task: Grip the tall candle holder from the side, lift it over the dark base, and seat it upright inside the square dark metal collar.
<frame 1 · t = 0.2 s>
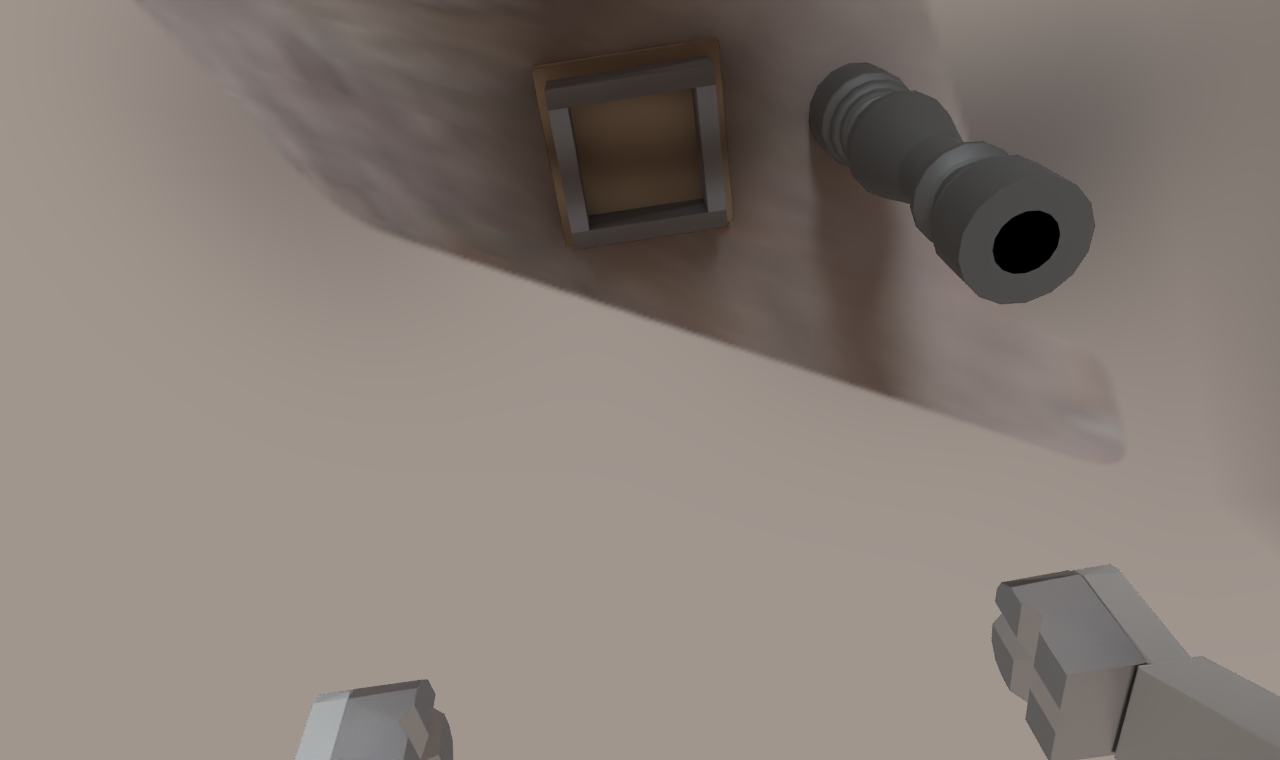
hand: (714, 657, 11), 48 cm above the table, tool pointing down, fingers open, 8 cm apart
candle holder: (852, 109, 55), on the table
socket base: (636, 144, 55), on the table
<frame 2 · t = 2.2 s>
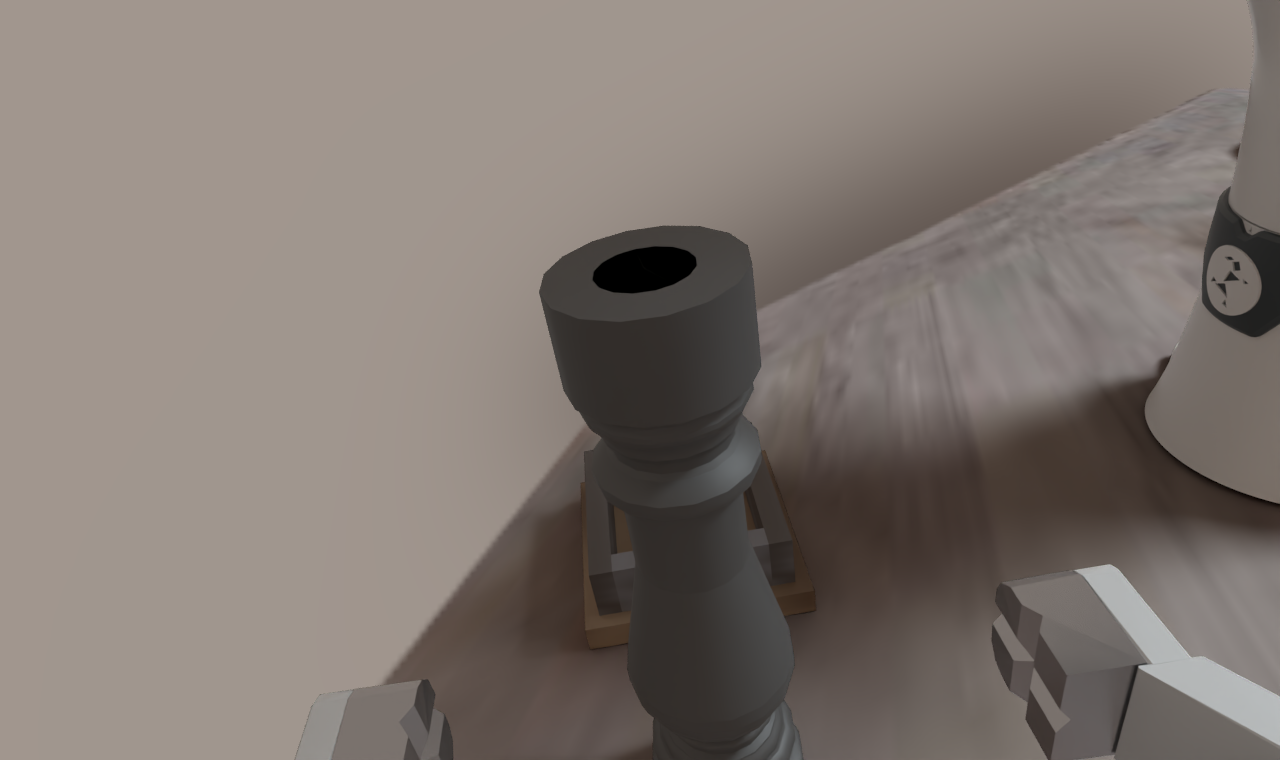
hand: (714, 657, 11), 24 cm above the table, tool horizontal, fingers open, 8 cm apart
socket base: (687, 549, 47), on the table
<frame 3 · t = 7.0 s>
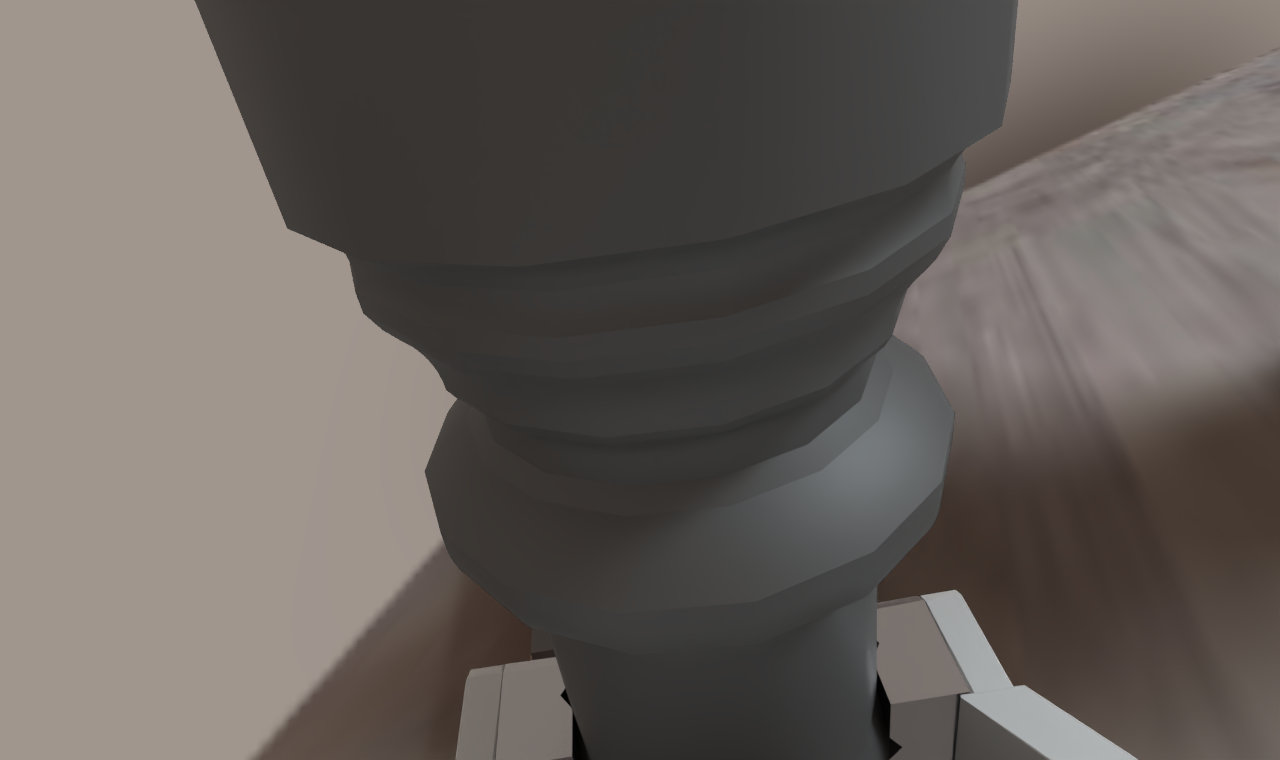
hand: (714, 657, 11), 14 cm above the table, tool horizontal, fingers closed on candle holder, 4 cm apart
socket base: (695, 599, 31), on the table
when the fingers open (16 cm above the table, at t = 12.5 s): candle holder stays where it is, resting on socket base.
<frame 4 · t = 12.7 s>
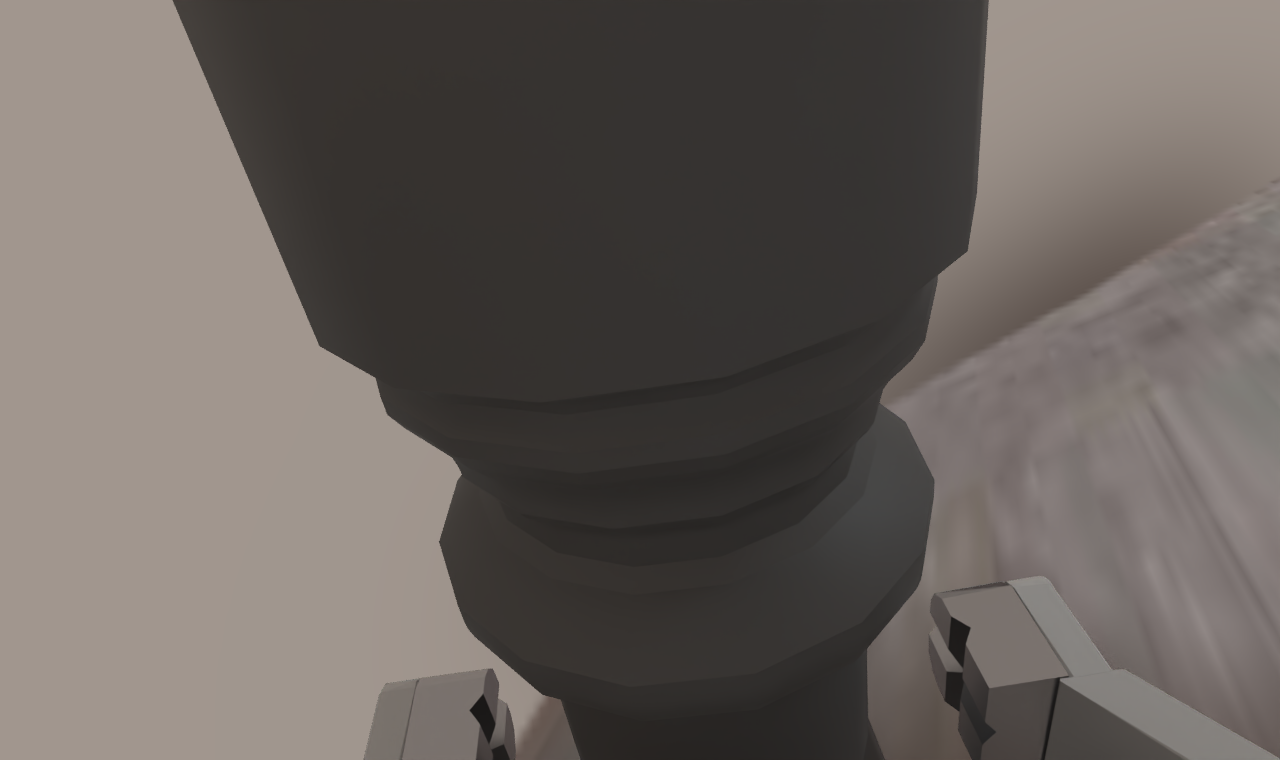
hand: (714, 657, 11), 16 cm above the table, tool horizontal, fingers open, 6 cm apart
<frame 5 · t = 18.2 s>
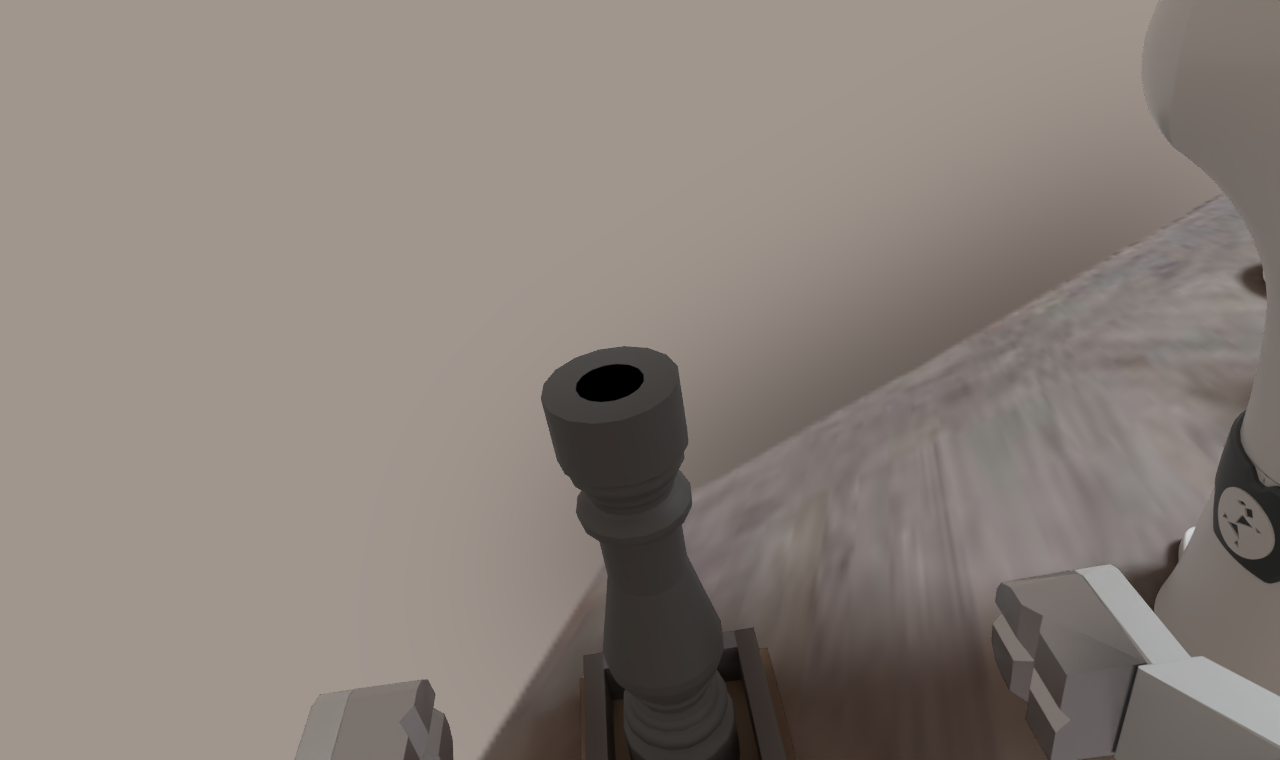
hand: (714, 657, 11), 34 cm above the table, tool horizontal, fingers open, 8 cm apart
candle holder: (686, 752, 46), point 1 cm above the table, touching socket base
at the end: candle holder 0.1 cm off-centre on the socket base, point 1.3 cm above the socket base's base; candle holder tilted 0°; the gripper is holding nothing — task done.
